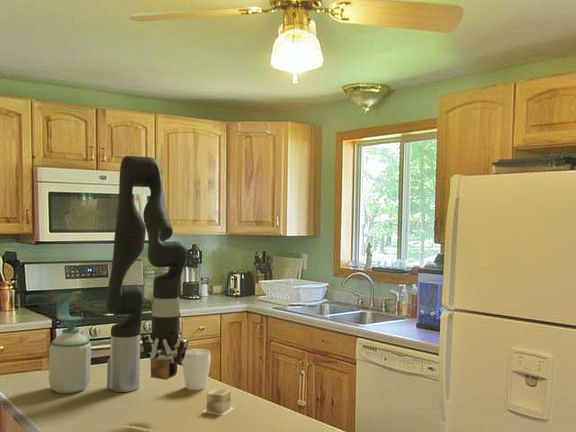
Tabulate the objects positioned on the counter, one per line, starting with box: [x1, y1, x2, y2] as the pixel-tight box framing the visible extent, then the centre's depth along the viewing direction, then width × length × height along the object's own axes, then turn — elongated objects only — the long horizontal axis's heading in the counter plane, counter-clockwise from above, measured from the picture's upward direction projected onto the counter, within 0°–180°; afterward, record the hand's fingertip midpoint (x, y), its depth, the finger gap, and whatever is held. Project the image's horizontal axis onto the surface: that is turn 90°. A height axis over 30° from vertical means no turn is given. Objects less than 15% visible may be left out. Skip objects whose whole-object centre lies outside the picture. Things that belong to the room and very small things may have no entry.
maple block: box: [206, 388, 232, 414], centre depth 165 cm, size 5×5×5 cm
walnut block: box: [150, 354, 177, 381], centre depth 160 cm, size 5×5×5 cm
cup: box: [181, 348, 212, 391], centre depth 187 cm, size 9×9×12 cm
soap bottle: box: [48, 290, 92, 394], centre depth 183 cm, size 12×12×31 cm
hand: (163, 374), depth 160 cm, fingers closed on walnut block, 5 cm apart
